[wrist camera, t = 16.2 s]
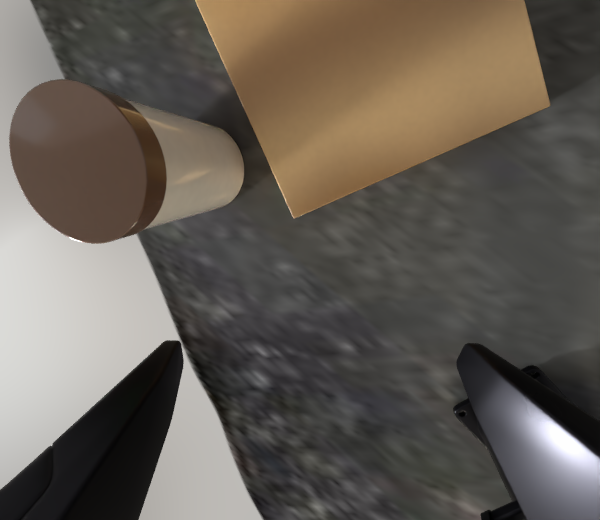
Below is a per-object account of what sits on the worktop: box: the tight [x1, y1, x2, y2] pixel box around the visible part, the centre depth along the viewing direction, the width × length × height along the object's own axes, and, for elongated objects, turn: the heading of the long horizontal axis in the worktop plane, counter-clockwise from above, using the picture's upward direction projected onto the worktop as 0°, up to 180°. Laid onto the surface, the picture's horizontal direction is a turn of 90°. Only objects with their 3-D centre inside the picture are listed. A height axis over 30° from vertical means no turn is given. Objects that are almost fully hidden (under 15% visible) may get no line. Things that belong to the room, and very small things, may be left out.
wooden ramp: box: [195, 0, 550, 218], centre depth 13 cm, size 14×14×7 cm
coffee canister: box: [9, 79, 244, 244], centre depth 16 cm, size 6×6×10 cm
